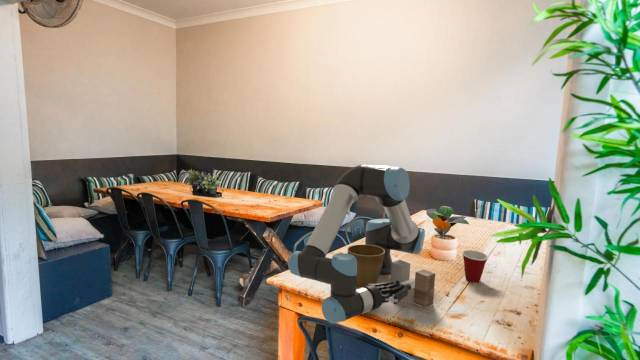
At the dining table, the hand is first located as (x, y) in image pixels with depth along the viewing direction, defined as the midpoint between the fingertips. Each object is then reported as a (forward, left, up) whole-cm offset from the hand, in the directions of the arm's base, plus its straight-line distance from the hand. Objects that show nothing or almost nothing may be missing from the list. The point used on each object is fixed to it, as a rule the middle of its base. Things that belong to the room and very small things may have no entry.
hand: (413, 283), depth 129 cm
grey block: (-9, +11, -10) cm, 17 cm away
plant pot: (-22, +6, -10) cm, 25 cm away
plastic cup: (+13, +43, -10) cm, 46 cm away
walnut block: (+2, +6, -10) cm, 12 cm away
